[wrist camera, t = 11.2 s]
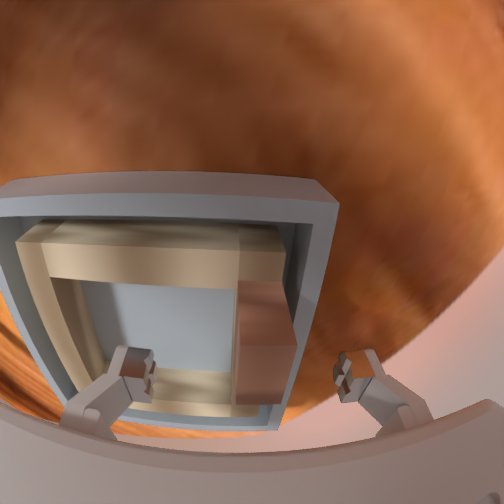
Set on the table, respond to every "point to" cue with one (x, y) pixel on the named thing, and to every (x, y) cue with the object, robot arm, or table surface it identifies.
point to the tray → (168, 297)
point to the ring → (177, 275)
